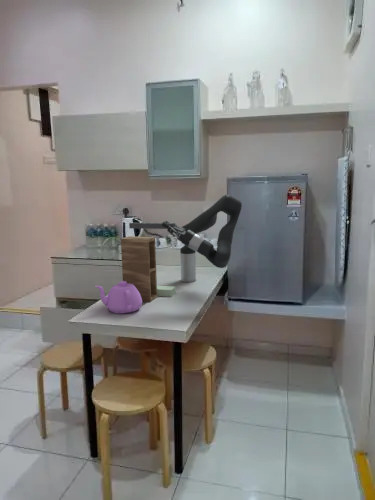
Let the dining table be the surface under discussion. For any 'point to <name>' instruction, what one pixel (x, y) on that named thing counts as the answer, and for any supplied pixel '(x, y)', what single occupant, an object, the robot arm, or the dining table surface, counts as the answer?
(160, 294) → the green block
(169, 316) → the dining table surface
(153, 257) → the shelf tower
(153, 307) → the dining table surface
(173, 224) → the domino bar
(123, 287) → the teapot
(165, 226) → the robot arm
